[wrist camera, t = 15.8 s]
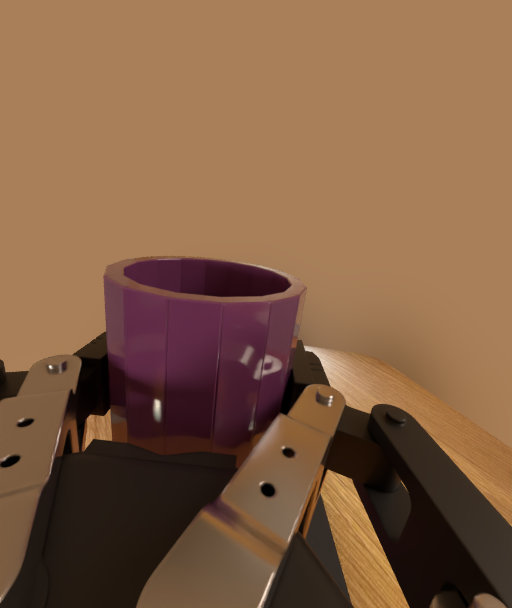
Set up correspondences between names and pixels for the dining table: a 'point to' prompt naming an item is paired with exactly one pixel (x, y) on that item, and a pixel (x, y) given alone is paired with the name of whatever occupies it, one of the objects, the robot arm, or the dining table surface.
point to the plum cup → (198, 352)
